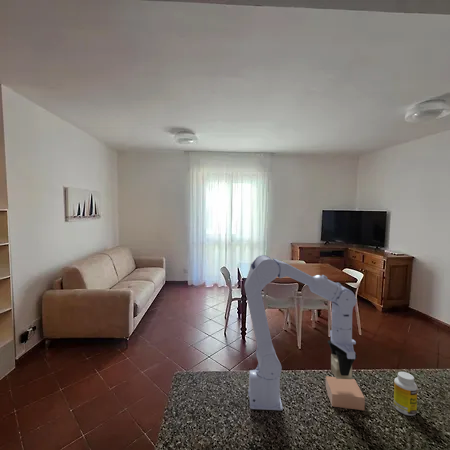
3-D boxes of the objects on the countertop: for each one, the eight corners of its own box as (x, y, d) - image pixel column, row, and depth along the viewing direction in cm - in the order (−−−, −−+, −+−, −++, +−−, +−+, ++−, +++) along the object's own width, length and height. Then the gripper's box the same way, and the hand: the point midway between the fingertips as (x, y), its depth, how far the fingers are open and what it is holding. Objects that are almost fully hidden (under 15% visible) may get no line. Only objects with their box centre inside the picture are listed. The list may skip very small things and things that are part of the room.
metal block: (336, 378, 77) (336, 362, 77) (331, 370, 81) (331, 354, 81) (351, 379, 77) (352, 362, 76) (345, 370, 81) (345, 354, 81)
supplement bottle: (411, 419, 72) (412, 383, 71) (390, 407, 76) (390, 373, 76) (420, 411, 75) (421, 377, 74) (398, 400, 79) (399, 367, 79)
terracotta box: (332, 407, 77) (332, 394, 77) (325, 388, 85) (325, 376, 85) (364, 411, 75) (364, 397, 75) (354, 391, 84) (354, 379, 84)
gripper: (366, 337, 71) (366, 385, 71) (345, 317, 86) (344, 357, 86) (340, 336, 72) (340, 384, 72) (323, 316, 86) (323, 357, 86)
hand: (341, 369), depth 79 cm, fingers closed on metal block, 4 cm apart
